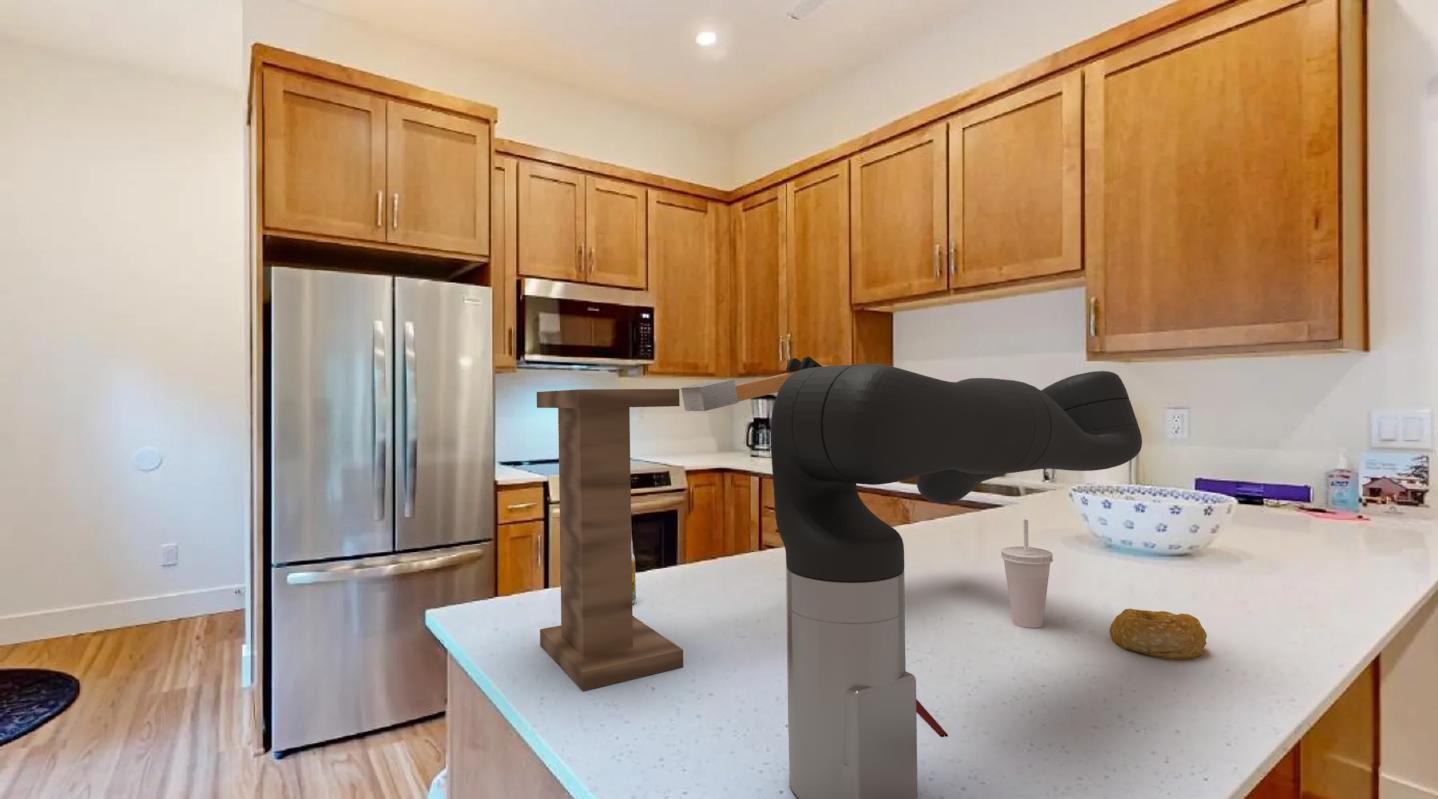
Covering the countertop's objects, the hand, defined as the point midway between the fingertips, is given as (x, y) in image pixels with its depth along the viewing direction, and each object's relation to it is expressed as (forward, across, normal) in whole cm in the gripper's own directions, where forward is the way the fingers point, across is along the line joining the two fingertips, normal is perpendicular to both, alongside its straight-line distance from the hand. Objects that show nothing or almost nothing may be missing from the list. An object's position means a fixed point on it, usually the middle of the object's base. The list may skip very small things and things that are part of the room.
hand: (796, 363), depth 93 cm
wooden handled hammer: (+3, 0, +6) cm, 7 cm away
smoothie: (-39, +18, +19) cm, 47 cm away
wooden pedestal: (+6, -3, +44) cm, 45 cm away
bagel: (-44, +31, +16) cm, 56 cm away
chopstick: (-15, +21, +33) cm, 42 cm away
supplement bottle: (-2, -22, +40) cm, 46 cm away
